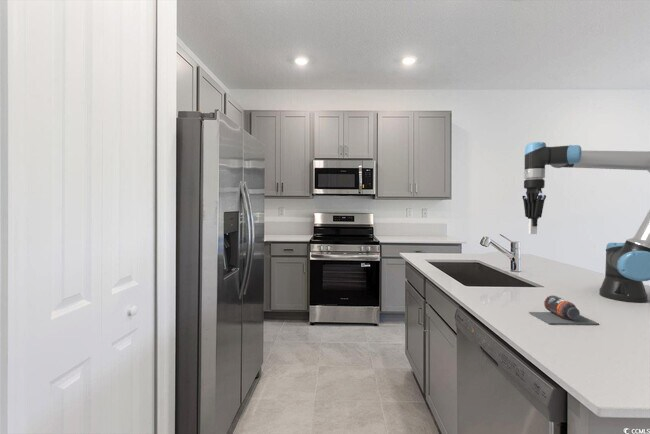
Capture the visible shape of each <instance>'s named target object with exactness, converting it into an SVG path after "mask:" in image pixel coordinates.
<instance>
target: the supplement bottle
mask: <svg viewBox="0 0 650 434" xmlns="http://www.w3.org/2000/svg"><path fill="white" fill-rule="evenodd" d="M543 305H544V307H545V309H546V310H547V312H552V313H554V314H556V315H558V316H560V317H562V318H564V319H577V318H578V317H579V315H581V314H580V310H579V309H578V308H577V307H576V305H575V304H574V303H572V302H570V301H569V300H565V299H564V298H562V297H559V296H557V295H548V296H547V297H546V298H545V300H544V302H543Z"/></svg>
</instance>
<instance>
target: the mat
mask: <svg viewBox="0 0 650 434" xmlns="http://www.w3.org/2000/svg"><path fill="white" fill-rule="evenodd" d="M528 313H529V315H532V316H534V317H535V318H537V319H539V320H541V321H542V322H544V323H545V324H548V325H551V326H552V325H553V326H555V325H557V326H559V325H560V326H561V325H563V326H567V325H568V326H569V325H570V326H599V325H600V323H598V322H597V321H594V320H592V319H590V318H588V317H585V316H583V315H581V314H580V315H579V317H578V318H577V319H564V318H562V317H560V316H558V315H556V314H554V313H552V312H550V311H529V312H528Z"/></svg>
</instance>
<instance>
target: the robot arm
mask: <svg viewBox="0 0 650 434" xmlns="http://www.w3.org/2000/svg"><path fill="white" fill-rule="evenodd" d="M547 165H548V166H549V165H550V166H551V167H552V168H555V169H561V168H567V169H568V168H574V169H576V168H577V169H599V170H600V169H601V170H602V169H604V170H628V171H629V170H631V171H633V170H634V171H647V172H649V173H650V151H644V150H643V151H642V150H641V151H640V150H638V151H637V150H632V151H631V150H582V147H581V145H579V144H570V145H560V146H559V145H558V146H557V145H556V146H547V144H546V142H543V141H535V142H529V143H527V144H525V147H524V171H523V175H524V177H523V178H524V180H523V188H524V189H525V190H526V192H525V195H522V196H521V197H522V200H523V207H524V208H523V209H524V216H525V217H526V218H527V219H528V235H537V234H538V220H539V218H540V219H541V218H542V215H543V210H544V204H545V201H546V198H547V195H546V194H543V191H542V189H544V188H545V185H546V184H545V183H546V181H545V178H546V166H547ZM648 281H650V209H649V210H648V212H647V213H646V215H645V217H644V219H643V221H642V222H641V224H640V226H639V227H638V229H637V231H636V233H635V234H634V236H633V237H632V238H628V239H626V241H625V242H609V243H607V244H606V248H605V275H604V279H603V281H602V283H601V285H600V288H599V292H598V294H599V295H600V296H601V297H604V298H607V299H610V300H611V299H612V300H615V301H623V302H629V303H647V302H648V300H649V298H648V297H649V296H648V294H647V291H646V288H645V285H644V283H643V282H648ZM646 301H647V302H646Z"/></svg>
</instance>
